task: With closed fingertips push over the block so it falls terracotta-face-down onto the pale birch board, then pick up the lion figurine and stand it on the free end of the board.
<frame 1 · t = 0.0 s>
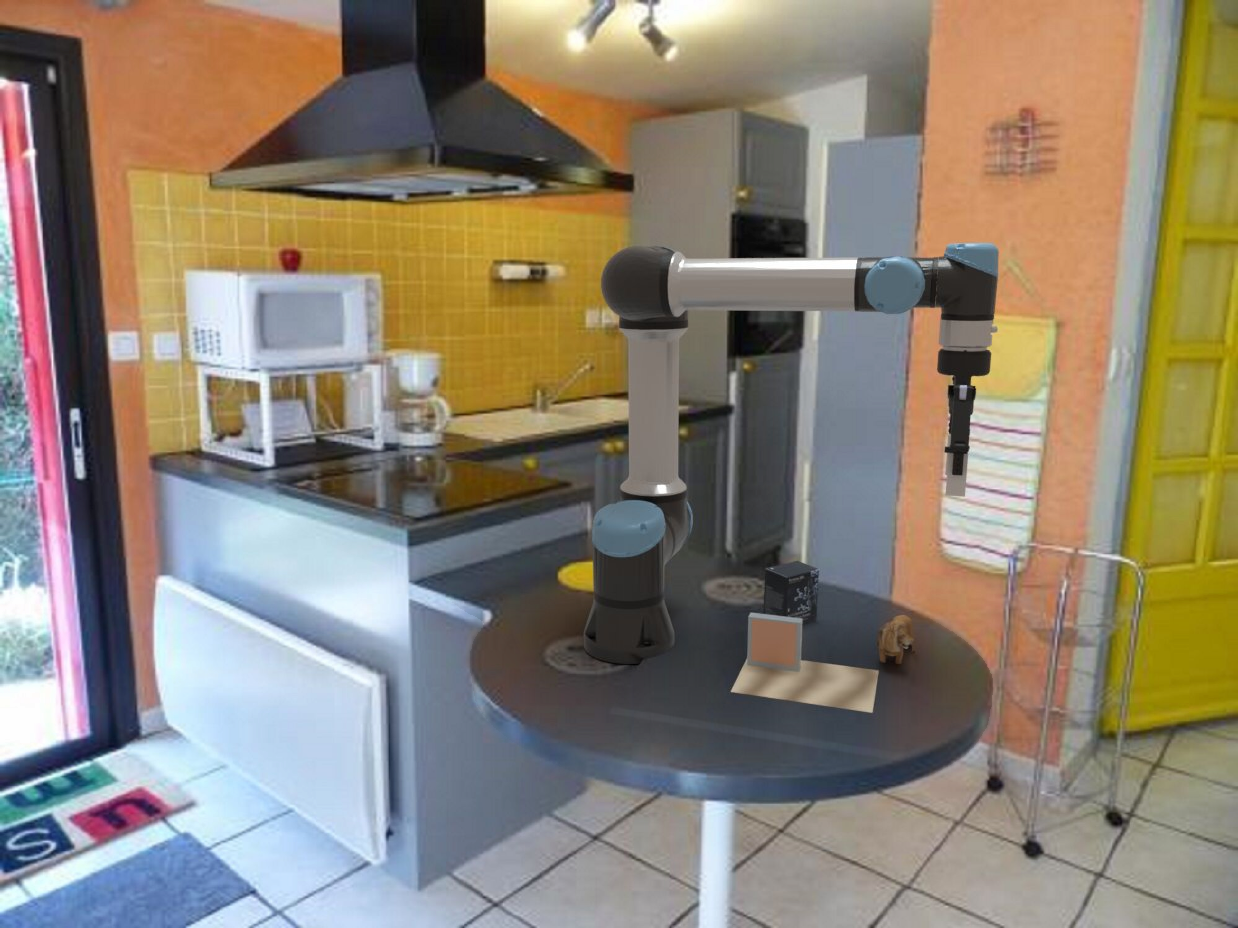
hand: (954, 485, 141), 28 cm above the table, fingers open, 13 cm apart
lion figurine: (897, 664, 144), on the table
block: (773, 665, 140), point 1 cm above the table, touching board
board: (806, 686, 136), on the table
box: (789, 626, 159), on the table
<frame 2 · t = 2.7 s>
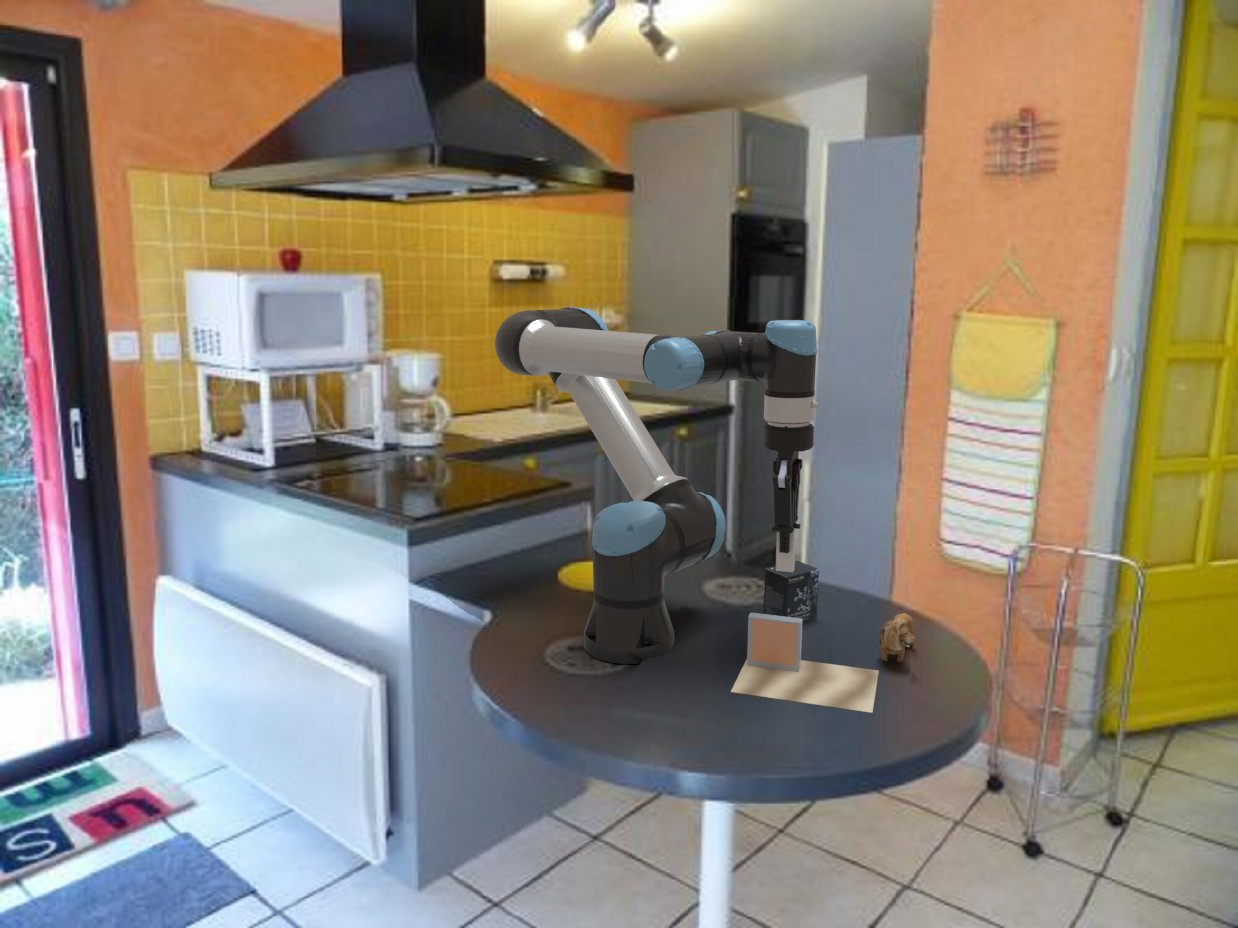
hand: (785, 569, 143), 15 cm above the table, fingers closed
nothing on the table moved.
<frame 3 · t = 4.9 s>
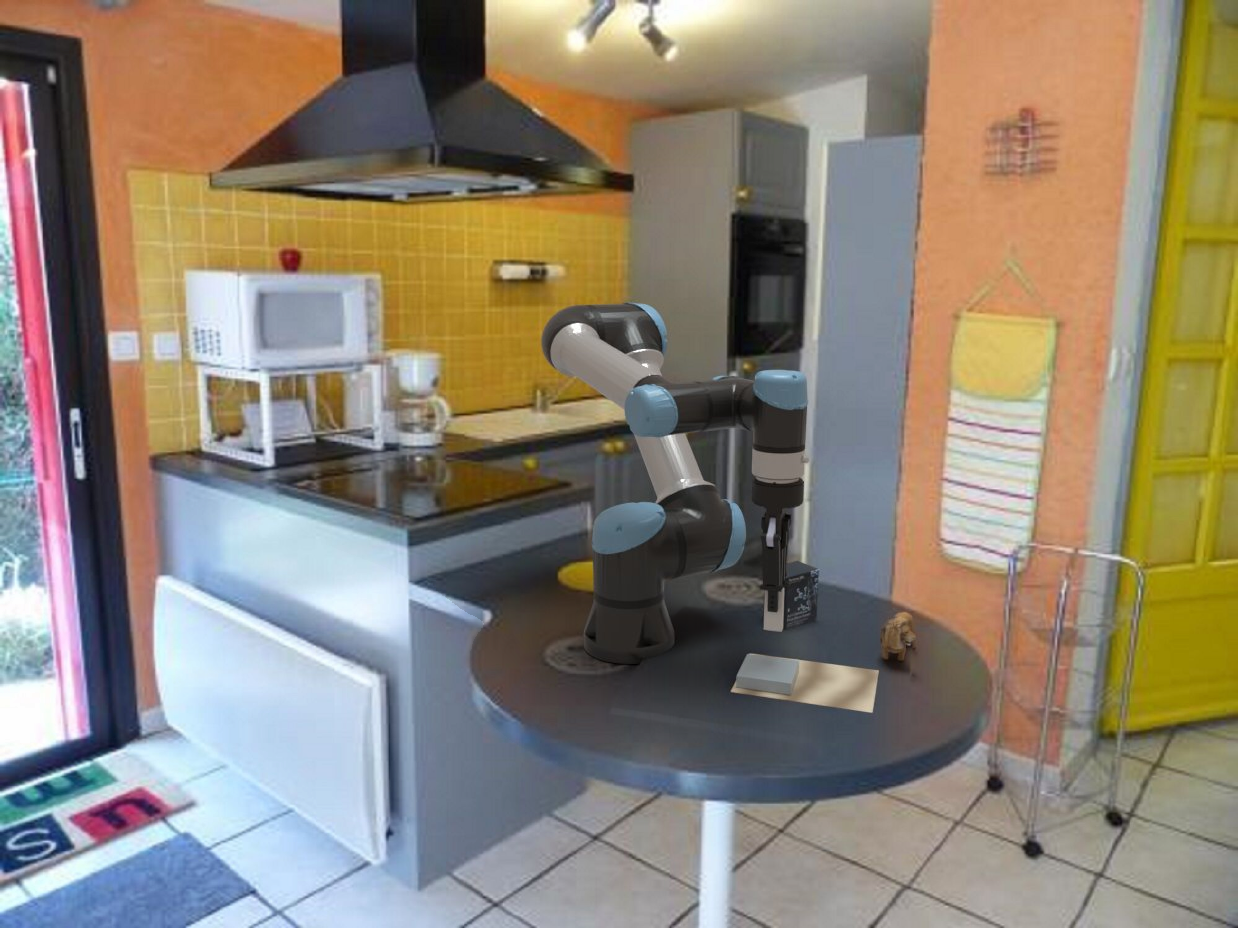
hand: (773, 628, 137), 8 cm above the table, fingers closed
block: (772, 662, 139), point 2 cm above the table, tilted 90°, touching board
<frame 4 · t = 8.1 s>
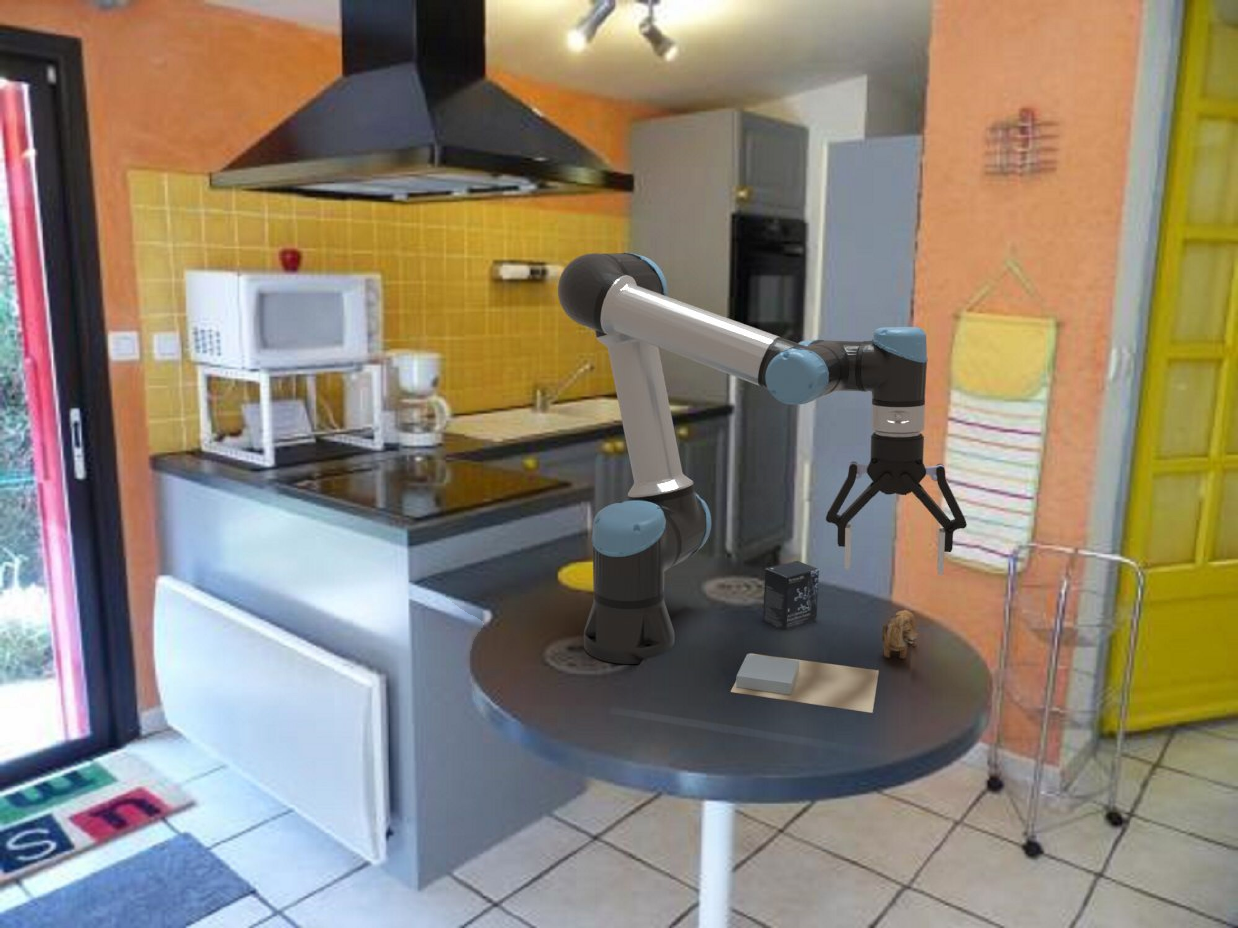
hand: (893, 569, 139), 16 cm above the table, fingers open, 13 cm apart
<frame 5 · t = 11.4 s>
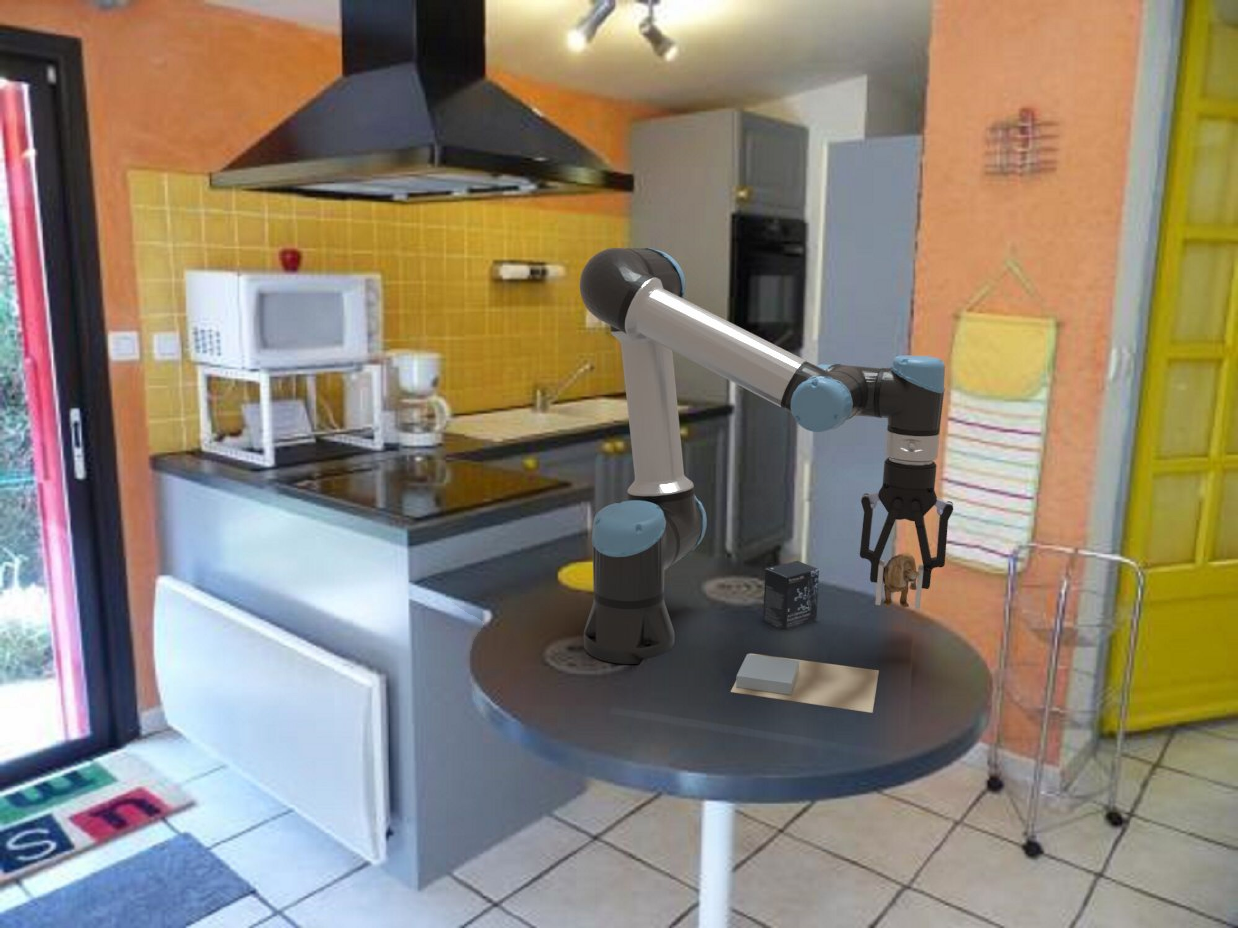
hand: (897, 604, 142), 10 cm above the table, fingers closed on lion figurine, 5 cm apart
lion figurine: (901, 601, 145), point 9 cm above the table, touching gripper
everything else where it was.
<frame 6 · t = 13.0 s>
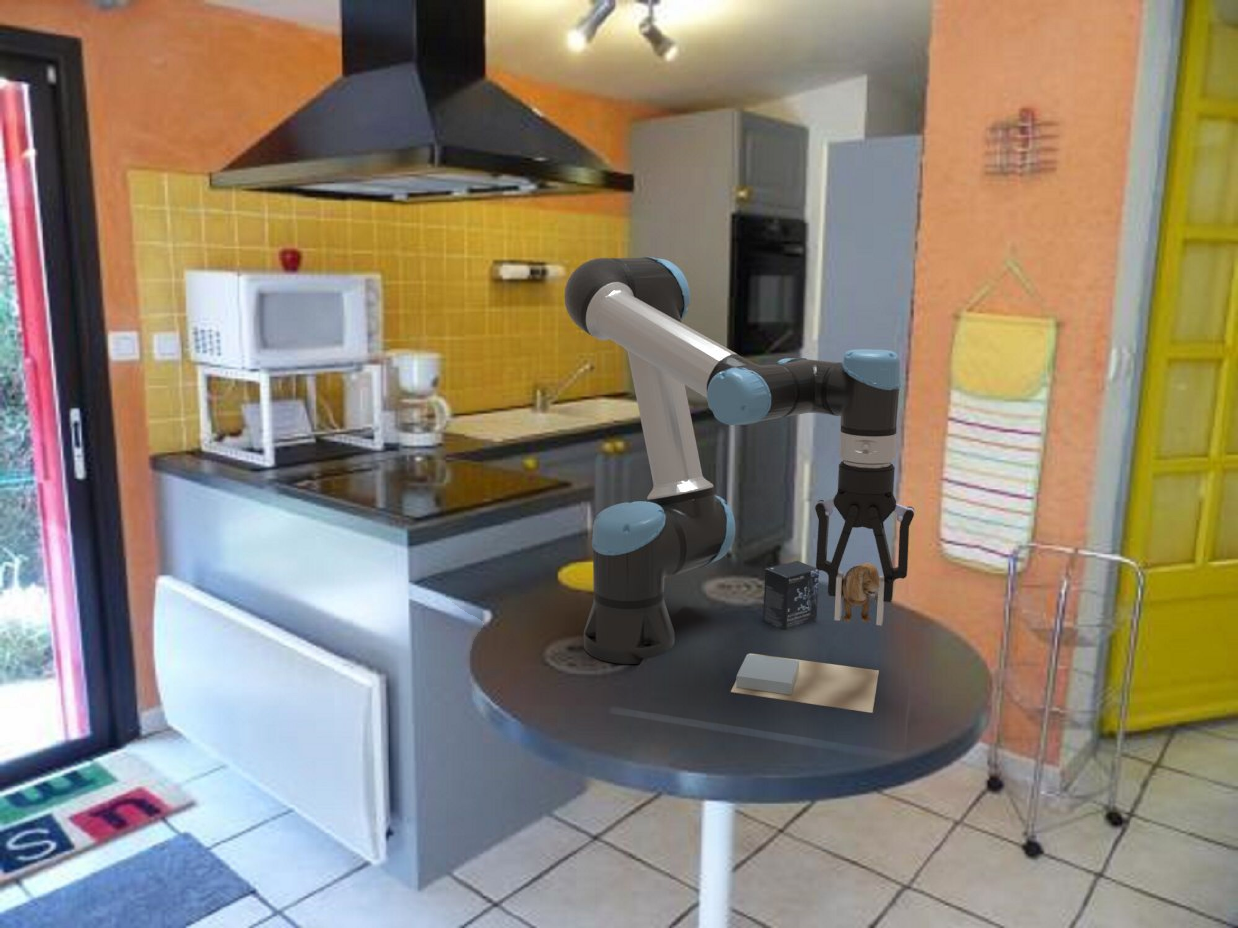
hand: (858, 618, 131), 12 cm above the table, fingers closed on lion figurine, 5 cm apart
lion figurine: (864, 615, 134), point 11 cm above the table, touching gripper
everything else where it was.
when the fingers open (2 cm above the table, at t = 14.9 s): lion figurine stays where it is, resting on board.
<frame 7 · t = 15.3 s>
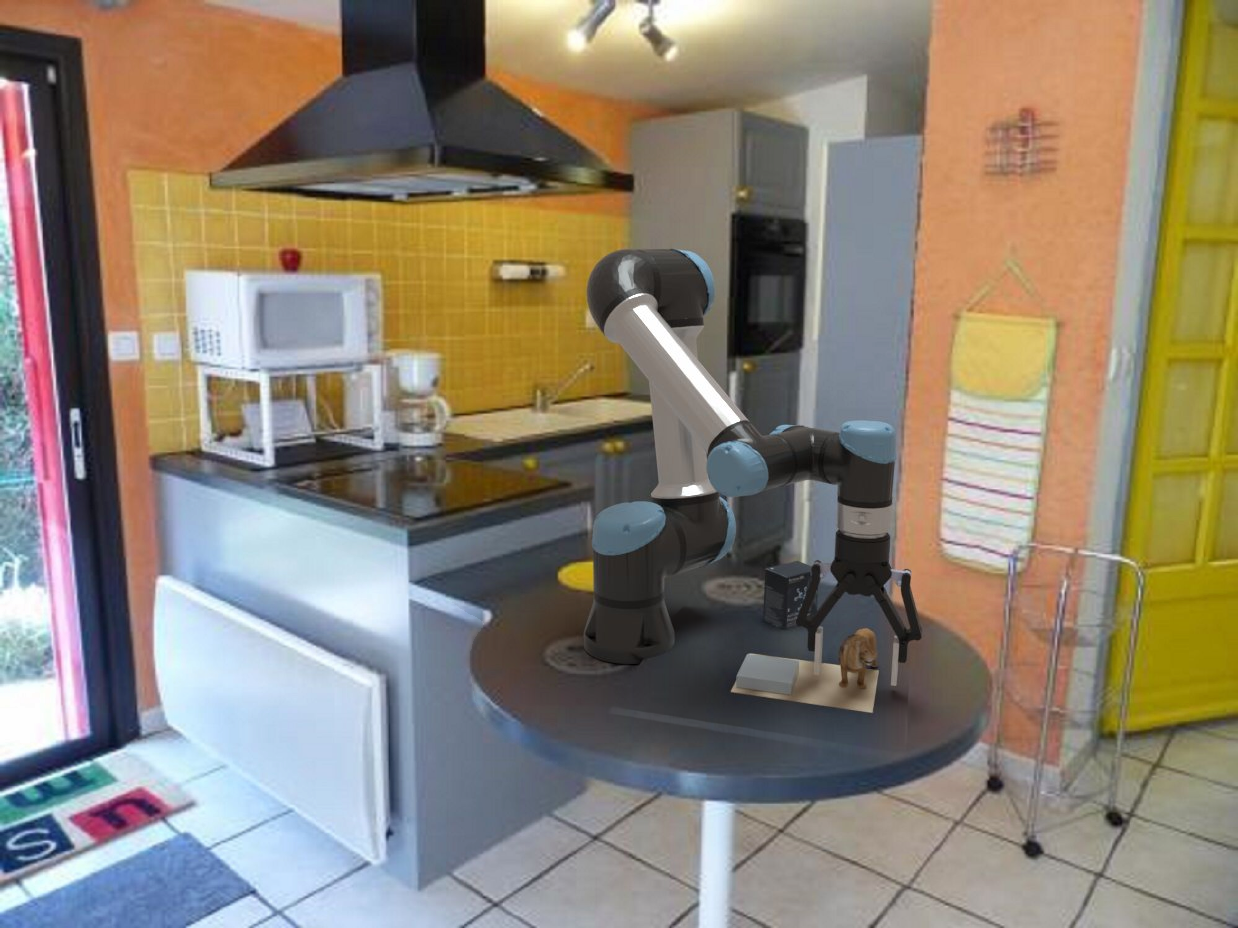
hand: (855, 676, 133), 3 cm above the table, fingers open, 10 cm apart
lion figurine: (860, 680, 136), point 1 cm above the table, touching board
everything else where it was.
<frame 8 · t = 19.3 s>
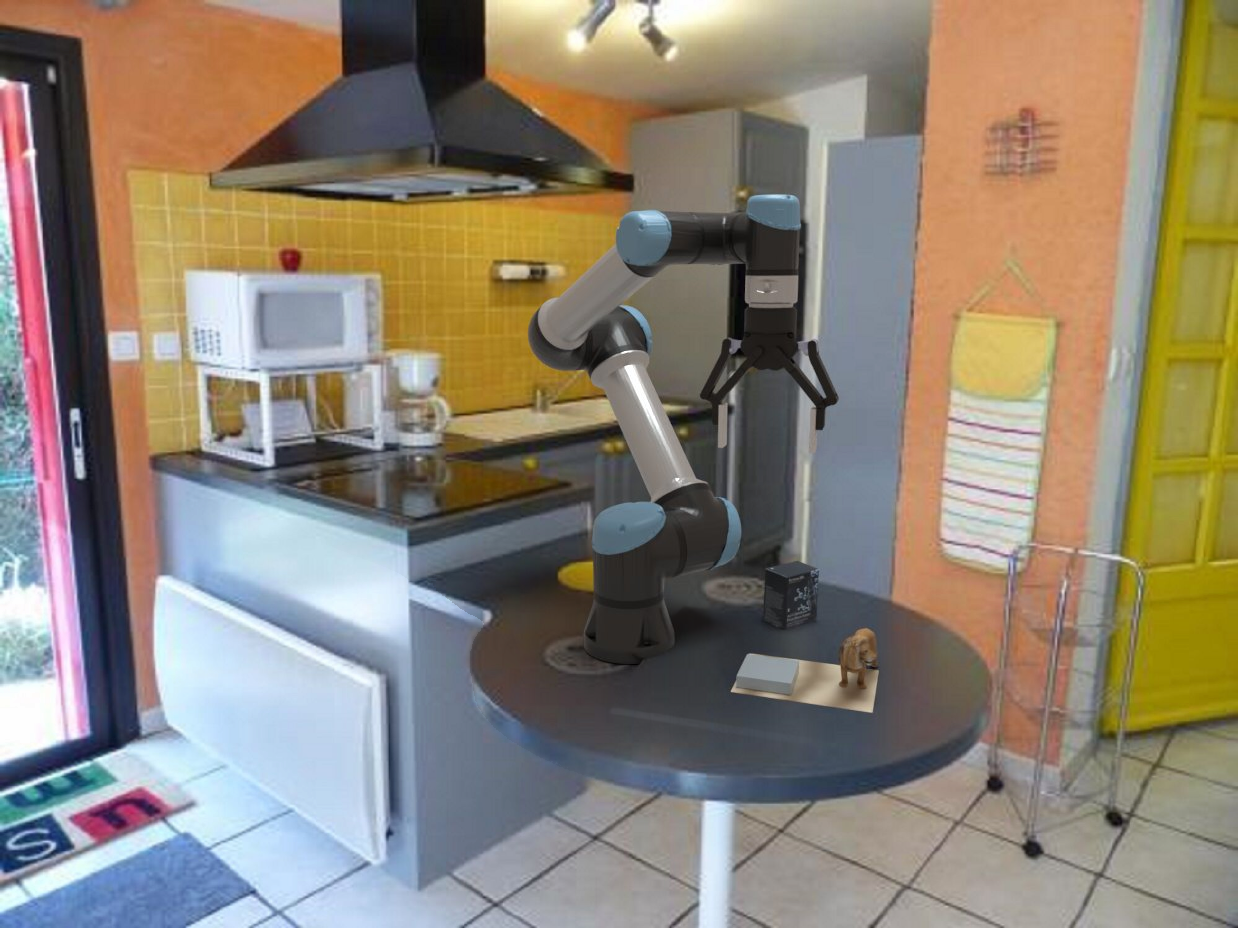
hand: (766, 449, 136), 35 cm above the table, fingers open, 13 cm apart
nothing on the table moved.
at the end: block tilted 90°; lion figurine inside the target area (2.9 cm from its centre), point 0.8 cm above the table; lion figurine tilted 0° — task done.
